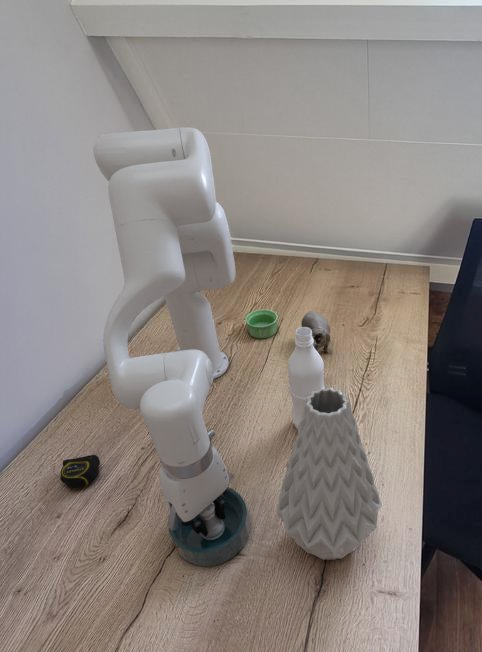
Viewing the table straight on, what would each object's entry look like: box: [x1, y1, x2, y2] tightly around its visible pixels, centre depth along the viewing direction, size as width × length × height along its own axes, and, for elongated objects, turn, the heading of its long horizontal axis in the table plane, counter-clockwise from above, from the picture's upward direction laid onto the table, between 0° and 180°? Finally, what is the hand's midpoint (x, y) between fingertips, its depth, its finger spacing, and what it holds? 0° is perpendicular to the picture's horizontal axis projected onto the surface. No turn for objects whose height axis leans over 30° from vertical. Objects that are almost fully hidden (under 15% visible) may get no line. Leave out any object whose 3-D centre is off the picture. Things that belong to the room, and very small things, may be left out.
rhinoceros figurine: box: [300, 310, 331, 354], centre depth 118 cm, size 8×14×15 cm
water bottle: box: [287, 326, 325, 430], centre depth 91 cm, size 7×7×25 cm
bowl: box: [168, 486, 251, 567], centre depth 80 cm, size 13×13×5 cm
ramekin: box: [244, 308, 279, 339], centre depth 127 cm, size 9×9×4 cm
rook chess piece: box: [200, 502, 225, 540], centre depth 79 cm, size 4×4×8 cm
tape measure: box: [59, 454, 101, 490], centre depth 91 cm, size 7×7×4 cm
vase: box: [276, 386, 382, 561], centre depth 69 cm, size 17×17×33 cm
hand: (209, 522), depth 80 cm, fingers closed on rook chess piece, 3 cm apart
